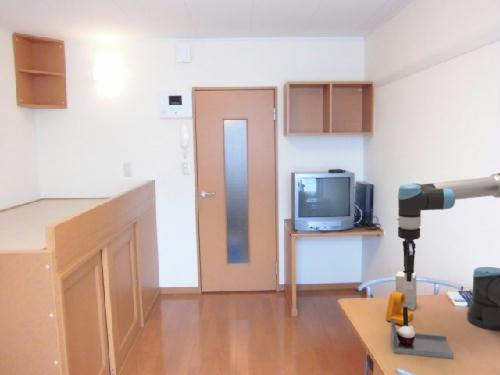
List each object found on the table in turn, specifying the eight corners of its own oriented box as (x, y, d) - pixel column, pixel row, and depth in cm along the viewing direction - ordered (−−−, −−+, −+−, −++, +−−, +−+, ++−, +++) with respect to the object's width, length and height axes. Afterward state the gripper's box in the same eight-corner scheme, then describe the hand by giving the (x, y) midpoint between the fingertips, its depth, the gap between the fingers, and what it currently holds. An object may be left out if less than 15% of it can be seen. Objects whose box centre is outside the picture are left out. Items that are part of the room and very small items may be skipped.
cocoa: (411, 350, 143) (412, 321, 141) (393, 345, 147) (395, 316, 144) (418, 338, 150) (419, 310, 148) (401, 333, 154) (402, 305, 152)
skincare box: (416, 305, 181) (417, 273, 179) (414, 311, 175) (415, 277, 173) (397, 301, 185) (398, 270, 183) (394, 307, 180) (395, 274, 178)
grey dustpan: (445, 340, 150) (446, 323, 149) (453, 358, 138) (454, 340, 137) (390, 335, 155) (390, 318, 154) (393, 352, 143) (393, 334, 142)
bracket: (402, 327, 162) (403, 299, 160) (386, 321, 167) (386, 294, 165) (413, 318, 169) (414, 291, 168) (397, 313, 174) (398, 287, 173)
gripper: (396, 222, 149) (395, 281, 153) (400, 231, 137) (399, 295, 140) (417, 223, 148) (416, 282, 151) (423, 231, 135) (422, 296, 138)
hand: (408, 288), depth 145 cm, fingers closed
